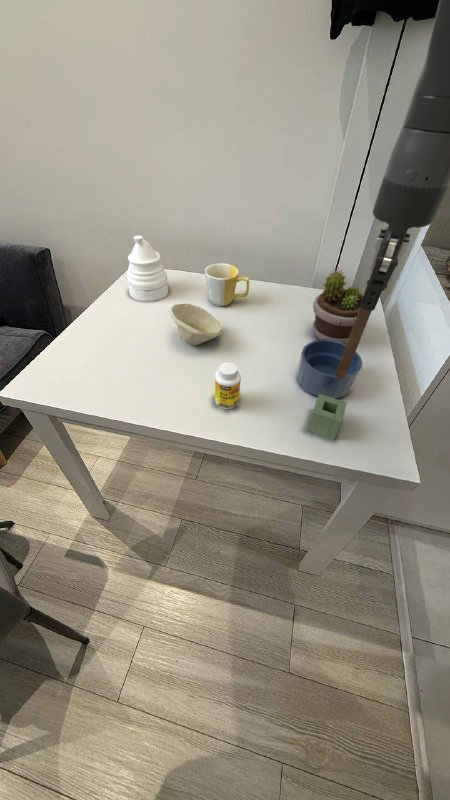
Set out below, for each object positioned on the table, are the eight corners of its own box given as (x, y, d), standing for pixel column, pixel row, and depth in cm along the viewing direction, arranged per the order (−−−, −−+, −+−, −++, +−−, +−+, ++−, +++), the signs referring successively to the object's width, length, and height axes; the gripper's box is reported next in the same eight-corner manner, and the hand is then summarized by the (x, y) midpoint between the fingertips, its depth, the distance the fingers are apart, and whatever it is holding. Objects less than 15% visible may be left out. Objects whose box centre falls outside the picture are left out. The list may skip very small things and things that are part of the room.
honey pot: (160, 303, 104) (153, 245, 91) (123, 297, 106) (110, 240, 93) (173, 285, 113) (169, 229, 100) (139, 280, 115) (129, 224, 102)
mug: (200, 306, 104) (200, 275, 96) (211, 291, 111) (211, 261, 103) (242, 314, 101) (244, 282, 94) (250, 299, 108) (253, 268, 100)
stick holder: (338, 420, 73) (347, 402, 68) (333, 440, 69) (341, 421, 65) (312, 412, 74) (319, 393, 70) (306, 430, 70) (312, 412, 66)
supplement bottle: (216, 411, 74) (216, 377, 66) (213, 393, 77) (213, 360, 70) (240, 409, 74) (243, 375, 67) (236, 391, 78) (239, 358, 71)
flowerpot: (361, 329, 98) (387, 263, 83) (352, 358, 88) (380, 289, 74) (313, 317, 102) (330, 251, 87) (300, 343, 92) (316, 275, 77)
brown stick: (346, 373, 63) (385, 273, 49) (344, 379, 62) (384, 278, 48) (336, 370, 64) (373, 271, 49) (335, 376, 63) (371, 275, 48)
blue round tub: (355, 372, 84) (365, 349, 79) (346, 408, 75) (357, 384, 70) (303, 357, 88) (309, 334, 82) (289, 389, 79) (295, 366, 74)
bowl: (229, 351, 88) (231, 319, 81) (178, 360, 85) (175, 328, 78) (213, 321, 98) (214, 291, 91) (167, 329, 95) (163, 297, 88)
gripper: (452, 195, 34) (388, 333, 47) (449, 169, 43) (395, 291, 55) (378, 185, 36) (335, 320, 49) (389, 162, 45) (351, 281, 57)
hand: (367, 304), depth 52 cm, fingers closed on brown stick, 2 cm apart
